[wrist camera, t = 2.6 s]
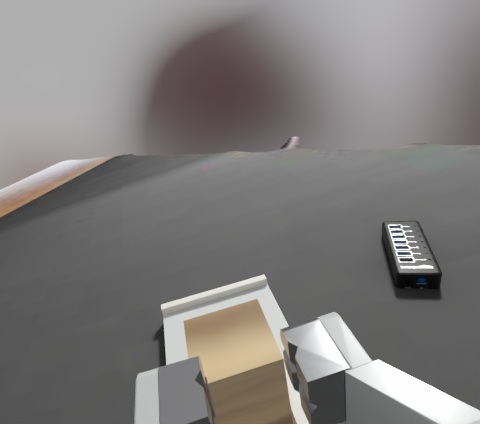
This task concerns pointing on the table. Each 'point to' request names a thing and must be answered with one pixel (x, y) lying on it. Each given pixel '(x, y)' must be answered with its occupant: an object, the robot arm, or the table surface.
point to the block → (241, 365)
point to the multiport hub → (410, 256)
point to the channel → (220, 300)
